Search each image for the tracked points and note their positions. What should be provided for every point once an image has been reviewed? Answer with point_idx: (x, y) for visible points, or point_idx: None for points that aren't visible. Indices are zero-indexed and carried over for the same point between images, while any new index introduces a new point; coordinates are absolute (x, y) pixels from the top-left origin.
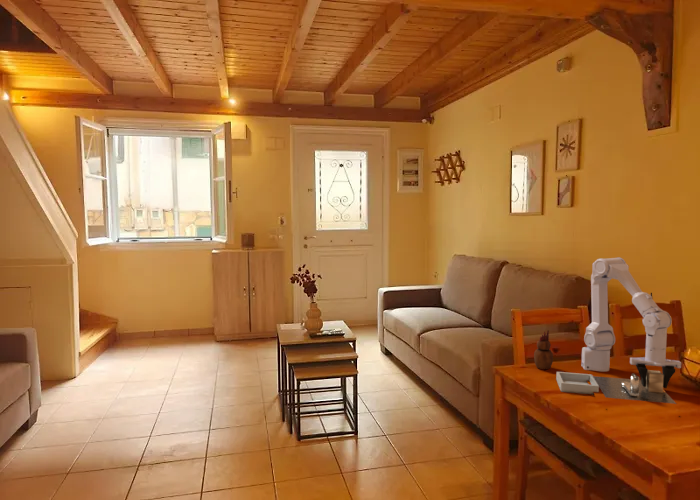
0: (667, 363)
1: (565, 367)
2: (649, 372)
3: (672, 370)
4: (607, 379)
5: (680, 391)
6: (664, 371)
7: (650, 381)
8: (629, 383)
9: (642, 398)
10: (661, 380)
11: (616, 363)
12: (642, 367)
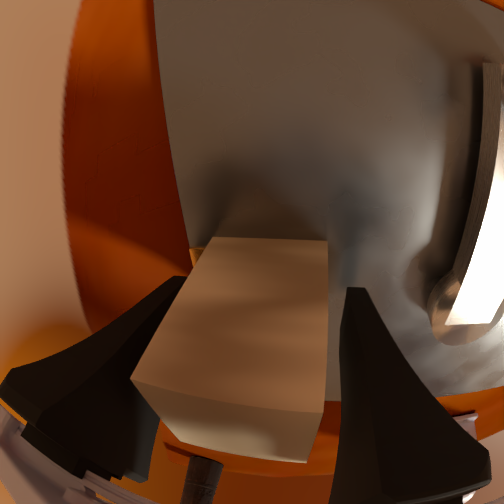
0: (23, 501)
1: (494, 422)
2: (299, 438)
3: (7, 392)
4: (476, 374)
5: (123, 305)
6: (126, 425)
7: (316, 314)
8: (456, 319)
9: (452, 35)
10: (181, 321)
11: (312, 464)
12: (431, 502)
